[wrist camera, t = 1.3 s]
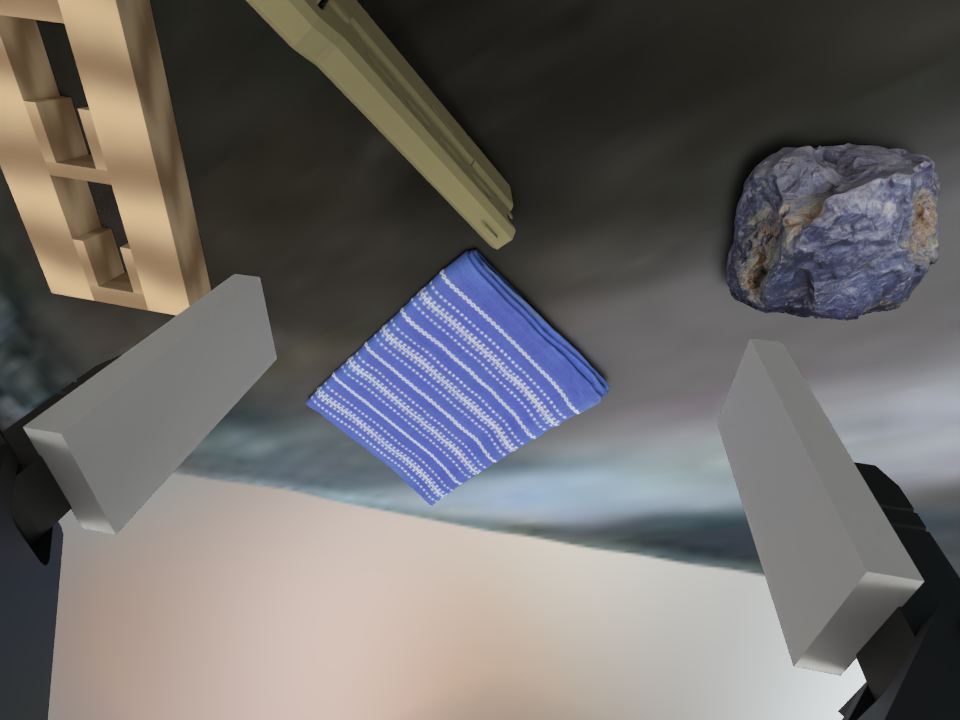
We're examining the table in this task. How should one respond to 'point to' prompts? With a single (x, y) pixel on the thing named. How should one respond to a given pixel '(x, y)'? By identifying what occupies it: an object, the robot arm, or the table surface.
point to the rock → (834, 231)
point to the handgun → (396, 105)
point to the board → (99, 156)
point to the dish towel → (457, 380)
